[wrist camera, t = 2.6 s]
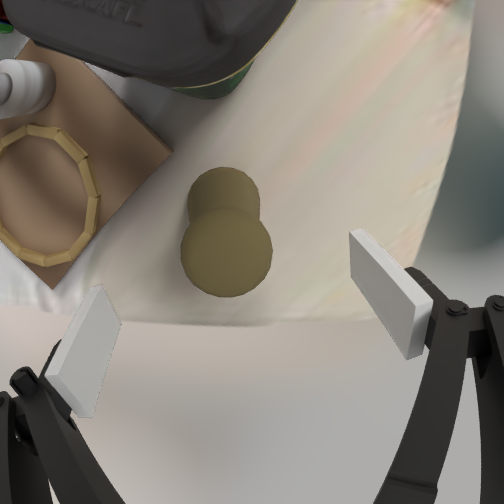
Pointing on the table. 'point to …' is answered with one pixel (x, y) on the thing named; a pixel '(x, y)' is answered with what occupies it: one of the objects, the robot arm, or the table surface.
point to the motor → (4, 27)
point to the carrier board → (64, 157)
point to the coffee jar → (157, 37)
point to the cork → (225, 234)
